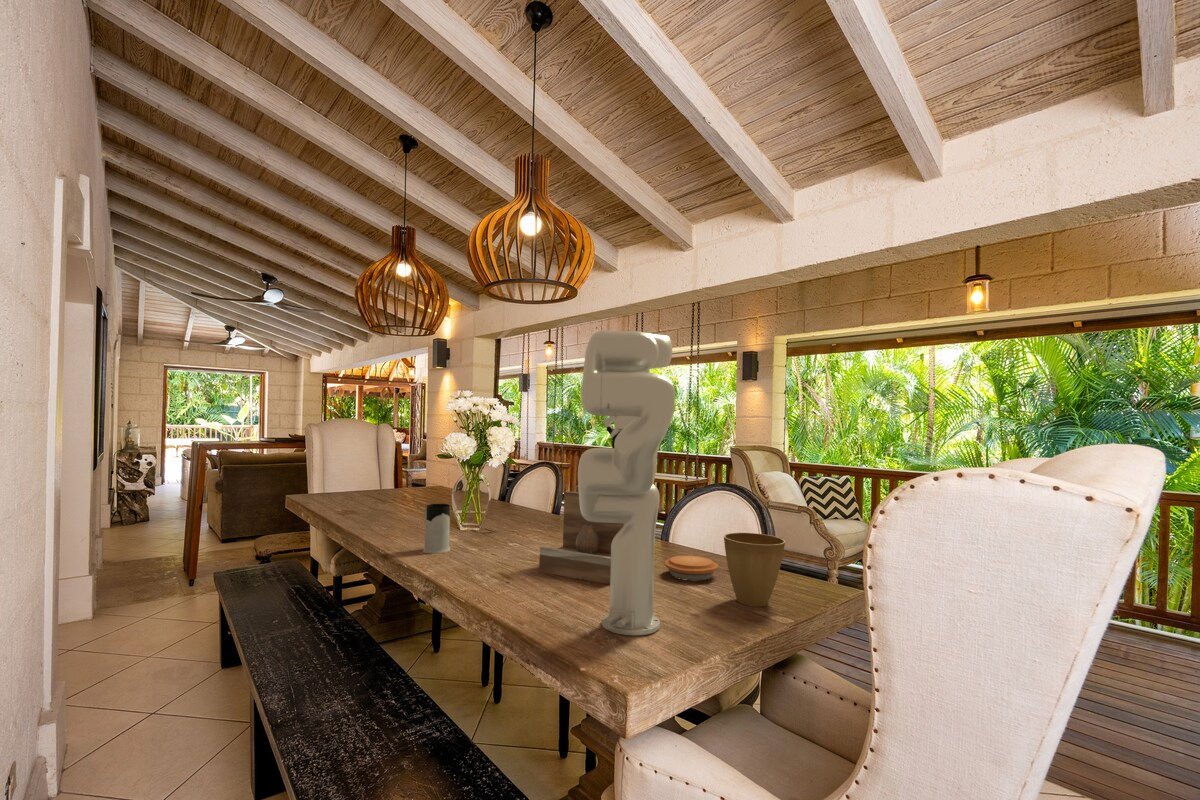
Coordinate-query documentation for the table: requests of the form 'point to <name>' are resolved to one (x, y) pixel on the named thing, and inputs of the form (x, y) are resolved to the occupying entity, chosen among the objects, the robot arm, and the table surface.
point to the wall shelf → (567, 556)
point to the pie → (691, 567)
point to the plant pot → (753, 565)
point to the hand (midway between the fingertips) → (633, 453)
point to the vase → (587, 540)
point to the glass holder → (437, 528)
